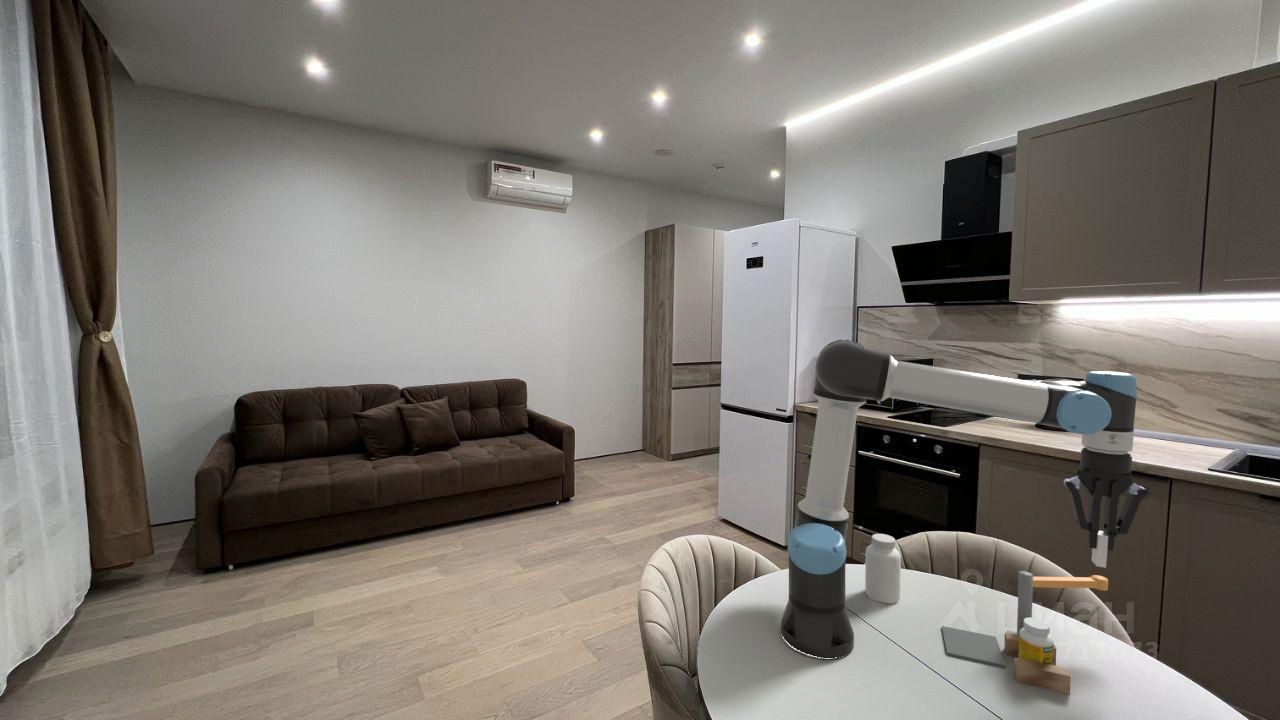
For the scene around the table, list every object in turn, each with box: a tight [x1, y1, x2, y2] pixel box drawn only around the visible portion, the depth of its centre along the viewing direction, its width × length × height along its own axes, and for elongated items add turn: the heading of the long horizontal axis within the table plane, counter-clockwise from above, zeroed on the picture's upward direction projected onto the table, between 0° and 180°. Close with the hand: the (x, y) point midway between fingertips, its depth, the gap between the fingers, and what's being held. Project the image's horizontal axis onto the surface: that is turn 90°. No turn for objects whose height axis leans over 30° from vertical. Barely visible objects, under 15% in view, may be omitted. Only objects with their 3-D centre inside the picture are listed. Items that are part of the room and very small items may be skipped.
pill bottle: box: [864, 533, 902, 604], centre depth 127 cm, size 8×8×15 cm
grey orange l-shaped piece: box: [1016, 570, 1109, 635], centre depth 107 cm, size 3×17×14 cm, turn 85°
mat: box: [941, 625, 1007, 669], centre depth 107 cm, size 10×10×1 cm
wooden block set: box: [1003, 629, 1072, 695], centre depth 103 cm, size 8×17×4 cm, turn 155°
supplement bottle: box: [1017, 617, 1055, 665], centre depth 100 cm, size 5×5×10 cm
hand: (1098, 563), depth 103 cm, fingers closed
